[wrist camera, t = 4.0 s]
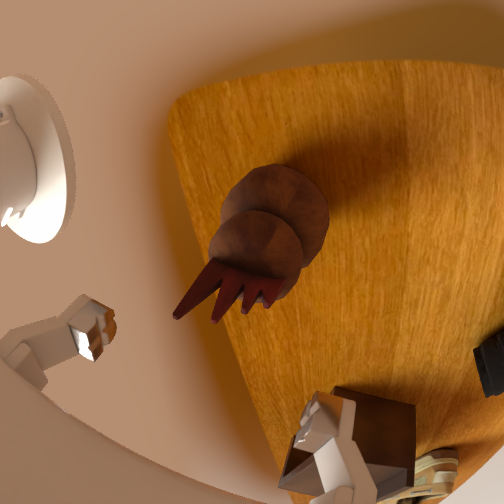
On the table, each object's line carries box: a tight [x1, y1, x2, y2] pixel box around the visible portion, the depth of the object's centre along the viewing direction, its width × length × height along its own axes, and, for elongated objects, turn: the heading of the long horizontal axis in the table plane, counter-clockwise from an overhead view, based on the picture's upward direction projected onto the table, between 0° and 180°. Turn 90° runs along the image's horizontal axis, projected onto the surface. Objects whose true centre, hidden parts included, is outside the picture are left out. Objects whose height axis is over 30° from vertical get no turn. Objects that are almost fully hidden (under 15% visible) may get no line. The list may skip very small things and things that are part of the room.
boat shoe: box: [376, 449, 458, 504], centre depth 41 cm, size 10×29×11 cm, turn 174°
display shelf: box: [278, 386, 416, 503], centre depth 34 cm, size 12×18×12 cm, turn 168°
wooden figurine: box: [173, 164, 330, 324], centre depth 18 cm, size 7×6×15 cm
